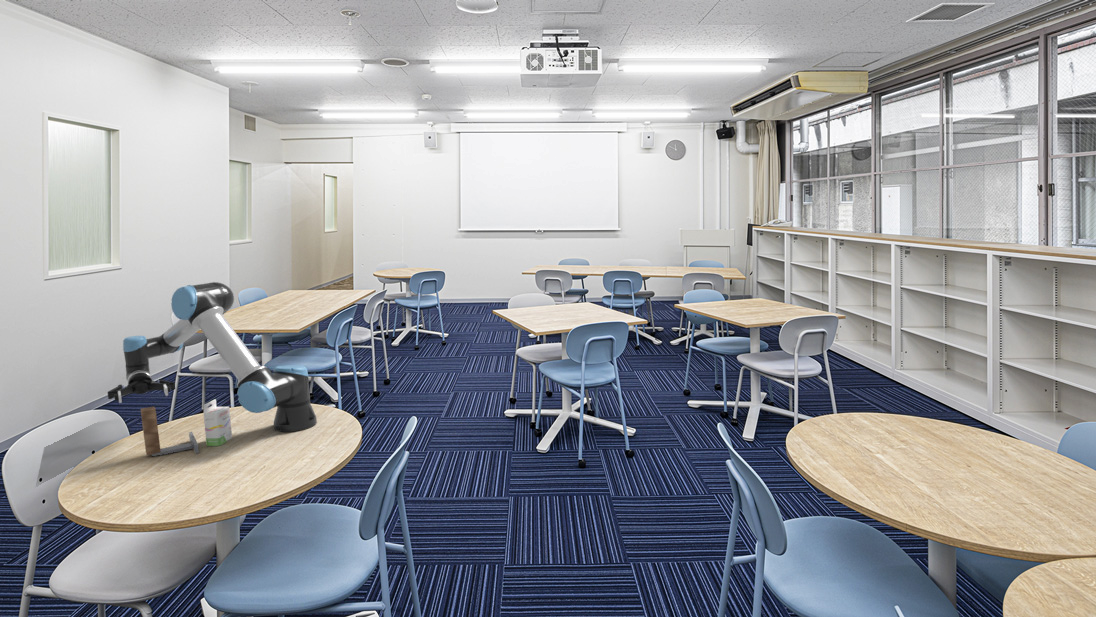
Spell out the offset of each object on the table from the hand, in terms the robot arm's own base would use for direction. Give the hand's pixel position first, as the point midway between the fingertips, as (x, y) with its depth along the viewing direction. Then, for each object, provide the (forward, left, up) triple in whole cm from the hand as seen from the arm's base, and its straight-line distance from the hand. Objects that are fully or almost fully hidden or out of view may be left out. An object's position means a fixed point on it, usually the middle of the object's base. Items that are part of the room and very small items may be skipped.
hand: (143, 395), depth 216 cm
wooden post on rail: (-6, +12, -18) cm, 22 cm away
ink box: (-20, +12, -18) cm, 30 cm away
